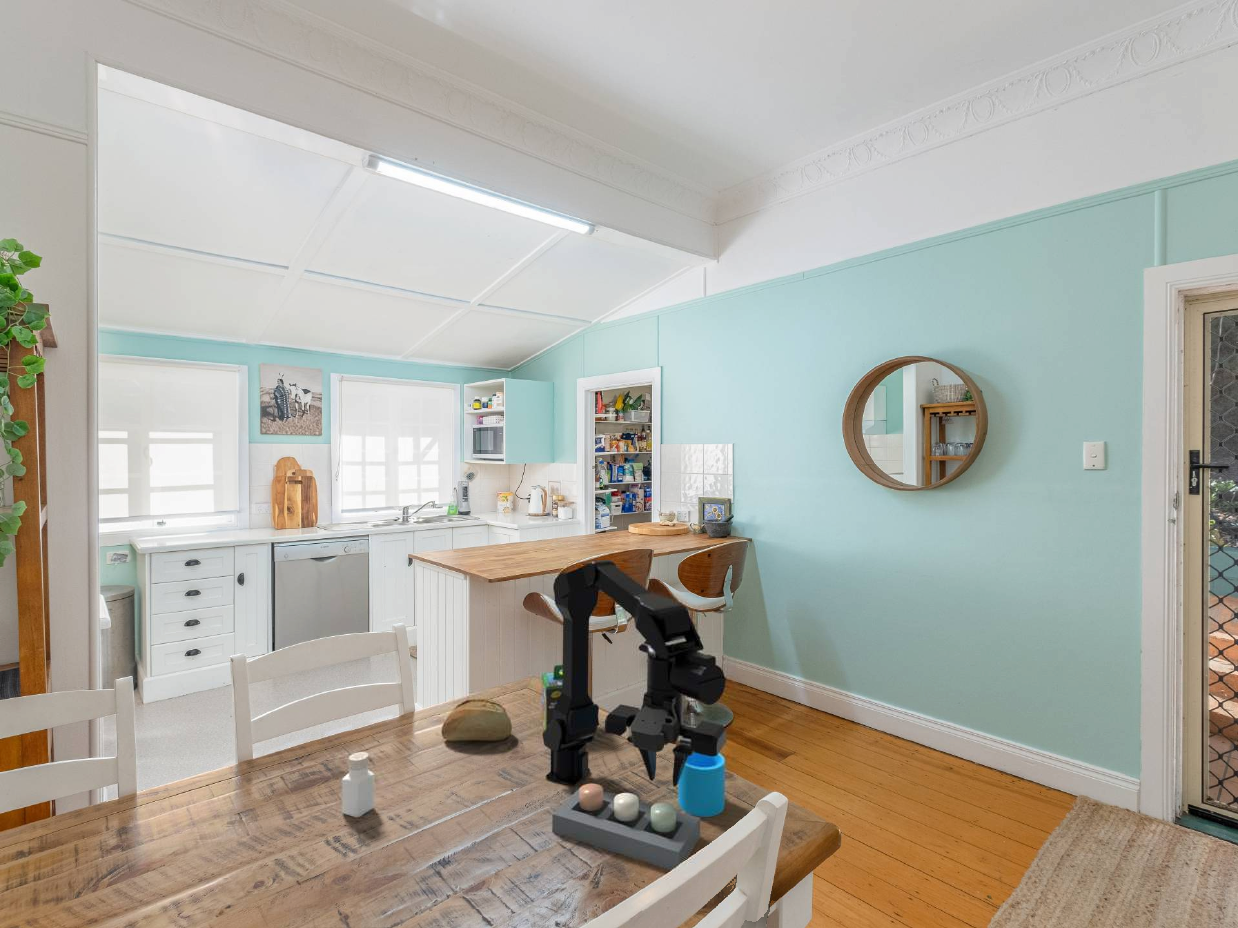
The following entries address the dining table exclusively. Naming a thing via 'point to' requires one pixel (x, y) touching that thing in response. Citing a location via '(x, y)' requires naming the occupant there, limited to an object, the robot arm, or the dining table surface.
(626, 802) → the cream button
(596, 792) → the terracotta button
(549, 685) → the chalk box
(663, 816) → the sage button
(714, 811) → the mug
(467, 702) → the bread roll
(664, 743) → the robot arm
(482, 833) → the dining table surface
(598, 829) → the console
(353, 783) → the pepper shaker
